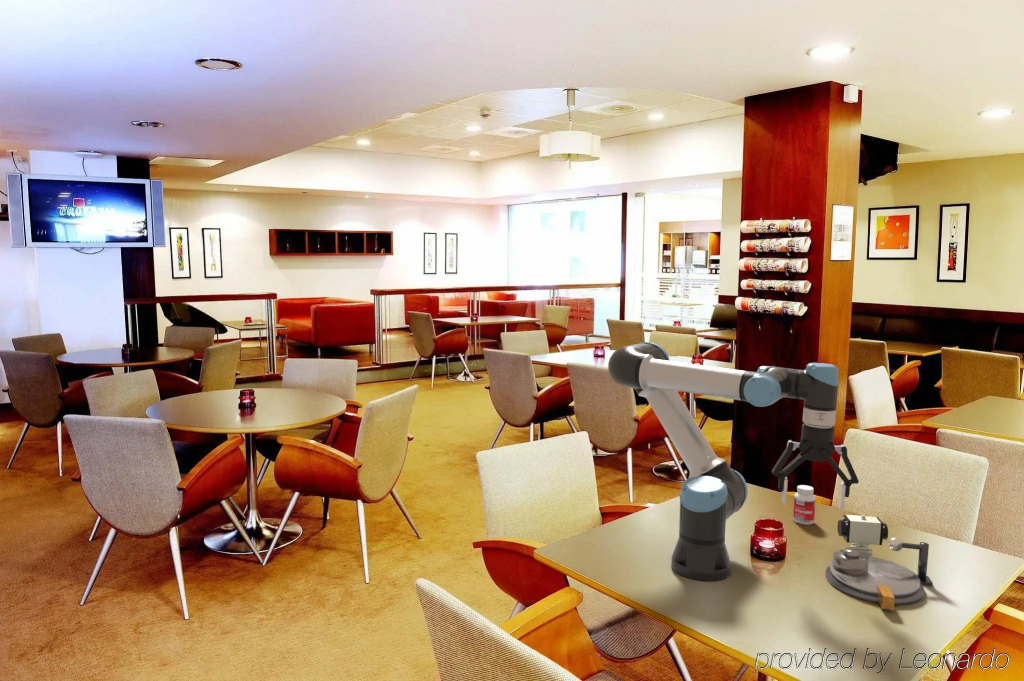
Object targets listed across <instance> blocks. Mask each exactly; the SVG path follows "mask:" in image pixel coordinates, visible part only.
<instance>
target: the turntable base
mask: <svg viewBox="0 0 1024 681" xmlns="http://www.w3.org/2000/svg"><path fill="white" fill-rule="evenodd" d="M825 579H826V581H827V582H828V583H829V584H830V585H831V586H832V587H833V588H835V589H836V590H838V591H840V592H841V593H843V594H845V595H848V596H850V597H853V598H856V599H858V600H862V601H865V602H869V603H874V604H879V605H880V603H879V601H878V598H877V596H874V595H869V594H865V593H862V592H858V591H856V590H853V589H851V588H848V587H846V586H844V585H842V584H841V583H839V582H838V581H836V580H835V579H834V578H833V577H832V575H831V573H830V565H828V566H827V567H826V569H825ZM923 598H925V588H924V585H922V584H921V583H920V590H919V592H918V593H917V594H915V595H913V596H910V597H905V598H895V601H894V606H907V605H912V604H917V603H918V602H920V601H922V600H923Z"/></svg>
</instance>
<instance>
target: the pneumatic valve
mask: <svg viewBox="0 0 1024 681" xmlns="http://www.w3.org/2000/svg"><path fill="white" fill-rule="evenodd" d="M837 533H838V534H837V535H838V536H839V537H842V538H843V539H844V541H845V542H846V544H847V543H849V544H851V545H850V546H849V548H854V549H857V550H858V551H859V553H862V554H864V555H866V556H868V557H873V548H872V547H871V546H870V545H873V546H875V545H876V546H883V542H884V540H885V541H887V540H888V539H889V538H888V537H889V527H888V525H887V523H885V522H883V521H882V520H881V519H880V517H877V516H869V515H867V516H866V514H861V515H858V514H856V515H854V514H853V515H851V514H843V517H842V518H841V519H839V520H838V521H837ZM869 546H870V547H869Z"/></svg>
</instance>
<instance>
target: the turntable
mask: <svg viewBox="0 0 1024 681" xmlns="http://www.w3.org/2000/svg"><path fill="white" fill-rule="evenodd" d="M867 557H868V556H867ZM868 558H869V563H868V574H867V575H865V576H860V577H857V576H849V575H845V574H842V573H840V572H838V571H836V570H835V569H834V568H833V560H831V562H830V564H829V566H830V573H831V575H832V577H833V578H834V579H835V580H836V581H838V582H839V583H841V584H842V585H844V586H846V587H848V588H851V589H853V590H856V591H858V592H862V593H865V594H869V595H874V596H877V598H878V601H879V603H880V604H879V603H878V604H879V605H880V607H881V609H883V610H890V611H894V610H895V605H894V601H895V598H905V597H910V596H913V595H915V594H917V593H918V592H919V590H920V579H919V577H918V576H917V574H916V573H915V572H914V571H913V570H911V569H909V568H907V567H906V566H903V565H901V564H899V563H896V562H894V561H890V560H886V559H884V558H879V557H874V556H869V557H868Z"/></svg>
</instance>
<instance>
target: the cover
mask: <svg viewBox="0 0 1024 681" xmlns="http://www.w3.org/2000/svg"><path fill="white" fill-rule="evenodd" d="M832 558H833V559H832V561H833V568H834V569H835V570H836V571H838V572H840V573H842V574H845V575H849V576H857V577H860V576H865V575H867V574H868V563H869V558H868V557H867V556H866V555H864V554H862V553H859V551H858V550H857V549H854V548H850V547H844V548H843V549H837V550H835V551H834V552H833V557H832Z"/></svg>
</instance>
